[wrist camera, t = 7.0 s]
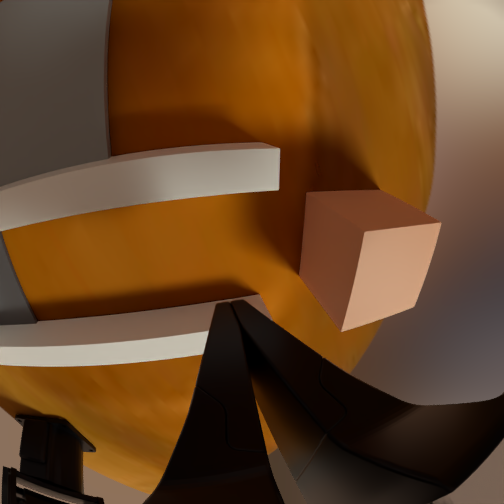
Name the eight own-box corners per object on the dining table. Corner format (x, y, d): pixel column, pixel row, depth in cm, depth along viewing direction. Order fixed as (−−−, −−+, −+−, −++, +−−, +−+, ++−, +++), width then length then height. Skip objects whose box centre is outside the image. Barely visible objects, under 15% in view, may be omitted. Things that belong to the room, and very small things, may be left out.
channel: (259, 315, 15) (270, 341, 13) (0, 341, 11) (-9, 364, 9) (262, 142, 11) (280, 148, 9) (-56, 207, 7) (-77, 223, 5)
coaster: (111, 156, 9) (108, 158, 9) (-39, 200, 7) (-46, 204, 6) (118, -36, 5) (116, -42, 4) (-41, 35, 3) (-47, 34, 2)
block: (365, 262, 16) (414, 306, 12) (298, 274, 14) (341, 332, 11) (379, 189, 13) (441, 222, 10) (305, 191, 12) (364, 231, 8)
